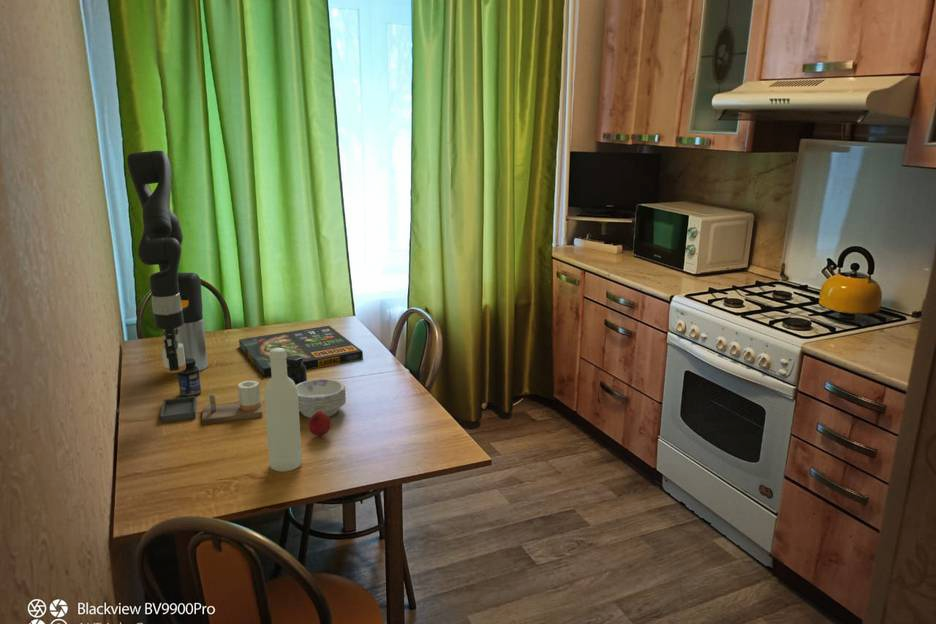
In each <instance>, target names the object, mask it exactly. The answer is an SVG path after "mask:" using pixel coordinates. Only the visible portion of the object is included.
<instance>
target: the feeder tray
mask: <svg viewBox="0 0 936 624" xmlns="http://www.w3.org/2000/svg"><path fill="white" fill-rule="evenodd" d="M197 404H198V399H197V396H192V397H176V398H168V399H163V401H162V406H161V411H160V423H163V424H165V423H172V422H179V421H186V420H195V419H196V417H197V409H198V408H197Z"/></svg>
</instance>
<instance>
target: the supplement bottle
mask: <svg viewBox="0 0 936 624" xmlns="http://www.w3.org/2000/svg"><path fill="white" fill-rule="evenodd" d="M286 363H287V376H288V377H289V378H290V379H292V380H293V381H294V383H295V385H297V384H299V383H301V382H304V381H308V377H307V375H308V374H307V370H306V366H305V365H304V364H302V363H303V361H302V356H300V355H292V356H288V357H287V358H286Z"/></svg>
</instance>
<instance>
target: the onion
mask: <svg viewBox="0 0 936 624" xmlns="http://www.w3.org/2000/svg"><path fill="white" fill-rule="evenodd" d="M331 421H332V420H331V418H330V416H329V417H328V416H327V415H326V414H324V413H322V410H321V409H319V410H318V411H317V412H316V413H315V414H314V415H313V416H312V417H311V418H309V421H308V430H309V431H310V432H311V434H312V435H313V436H315V437H318V438H323V437H324V436H325V435H327V433H328V432H329V431H330V430H331V427H332V422H331Z"/></svg>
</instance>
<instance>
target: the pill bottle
mask: <svg viewBox="0 0 936 624" xmlns="http://www.w3.org/2000/svg"><path fill="white" fill-rule="evenodd" d="M185 364H186V369H185V370H183V371H181V372H177V380H178V381H177V382H178V389H179V394H180V395H179V396H181V398H183V397H192V396H196V397H198V396H200V395H201V393H202V387H201V377H200V371H199V369H198V367H196V366H195V364H196V362H195V359H192V358H188V359H185Z"/></svg>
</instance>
